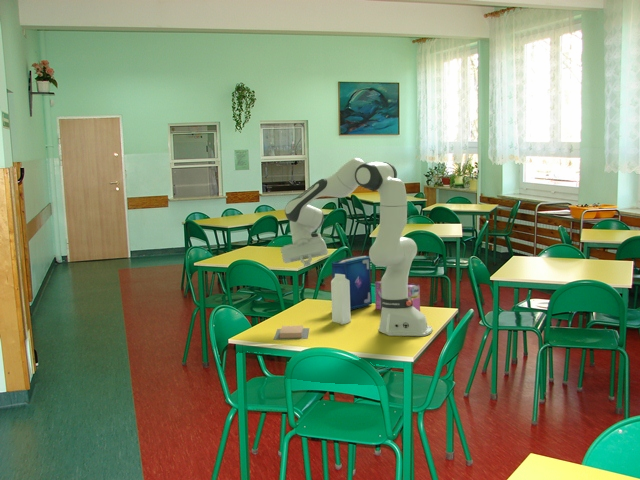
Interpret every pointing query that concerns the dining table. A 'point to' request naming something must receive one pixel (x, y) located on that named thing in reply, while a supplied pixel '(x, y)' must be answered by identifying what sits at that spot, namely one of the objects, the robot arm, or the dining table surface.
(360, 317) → the dining table surface
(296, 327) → the tile
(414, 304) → the gum box
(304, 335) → the mat
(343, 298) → the milk
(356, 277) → the book
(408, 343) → the dining table surface
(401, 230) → the robot arm
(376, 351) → the dining table surface
